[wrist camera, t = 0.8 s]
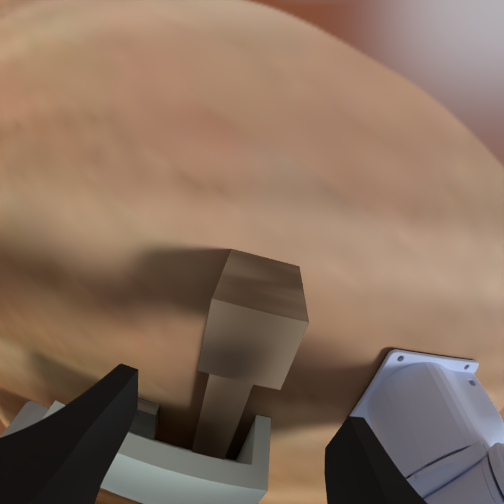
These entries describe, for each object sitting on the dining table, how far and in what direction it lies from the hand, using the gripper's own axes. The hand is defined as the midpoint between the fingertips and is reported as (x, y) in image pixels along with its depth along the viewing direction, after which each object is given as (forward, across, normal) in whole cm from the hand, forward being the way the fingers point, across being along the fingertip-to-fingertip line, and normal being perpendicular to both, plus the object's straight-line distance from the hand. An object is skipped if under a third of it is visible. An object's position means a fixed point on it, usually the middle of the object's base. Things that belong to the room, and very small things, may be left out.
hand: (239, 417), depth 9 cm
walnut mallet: (+10, 0, +8) cm, 13 cm away
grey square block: (+10, +7, +15) cm, 19 cm away
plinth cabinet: (+10, +4, +16) cm, 19 cm away
